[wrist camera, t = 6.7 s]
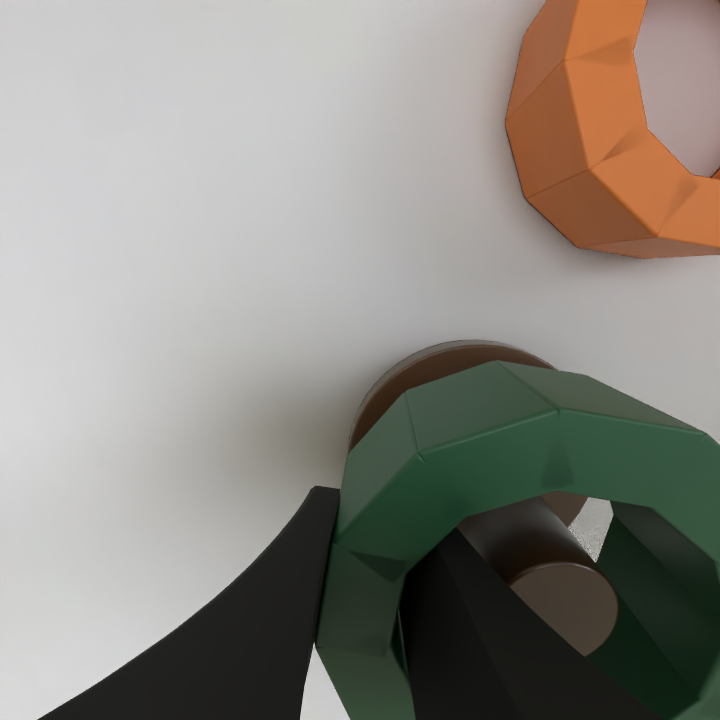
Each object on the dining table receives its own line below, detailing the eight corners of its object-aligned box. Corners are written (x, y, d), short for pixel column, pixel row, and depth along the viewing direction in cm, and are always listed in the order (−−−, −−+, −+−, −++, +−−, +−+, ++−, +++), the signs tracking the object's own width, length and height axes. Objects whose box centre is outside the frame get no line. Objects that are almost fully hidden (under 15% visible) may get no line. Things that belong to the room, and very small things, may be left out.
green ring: (738, 506, 10) (928, 629, 7) (502, 695, 12) (552, 869, 8) (491, 292, 9) (559, 301, 6) (278, 531, 11) (230, 650, 8)
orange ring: (865, 80, 11) (1087, -6, 8) (641, 308, 13) (742, 322, 10) (671, -156, 10) (831, -378, 7) (449, 129, 12) (486, 69, 8)
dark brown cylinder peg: (632, 439, 14) (882, 592, 7) (470, 591, 16) (552, 832, 9) (456, 287, 13) (560, 302, 6) (301, 469, 15) (247, 641, 8)
